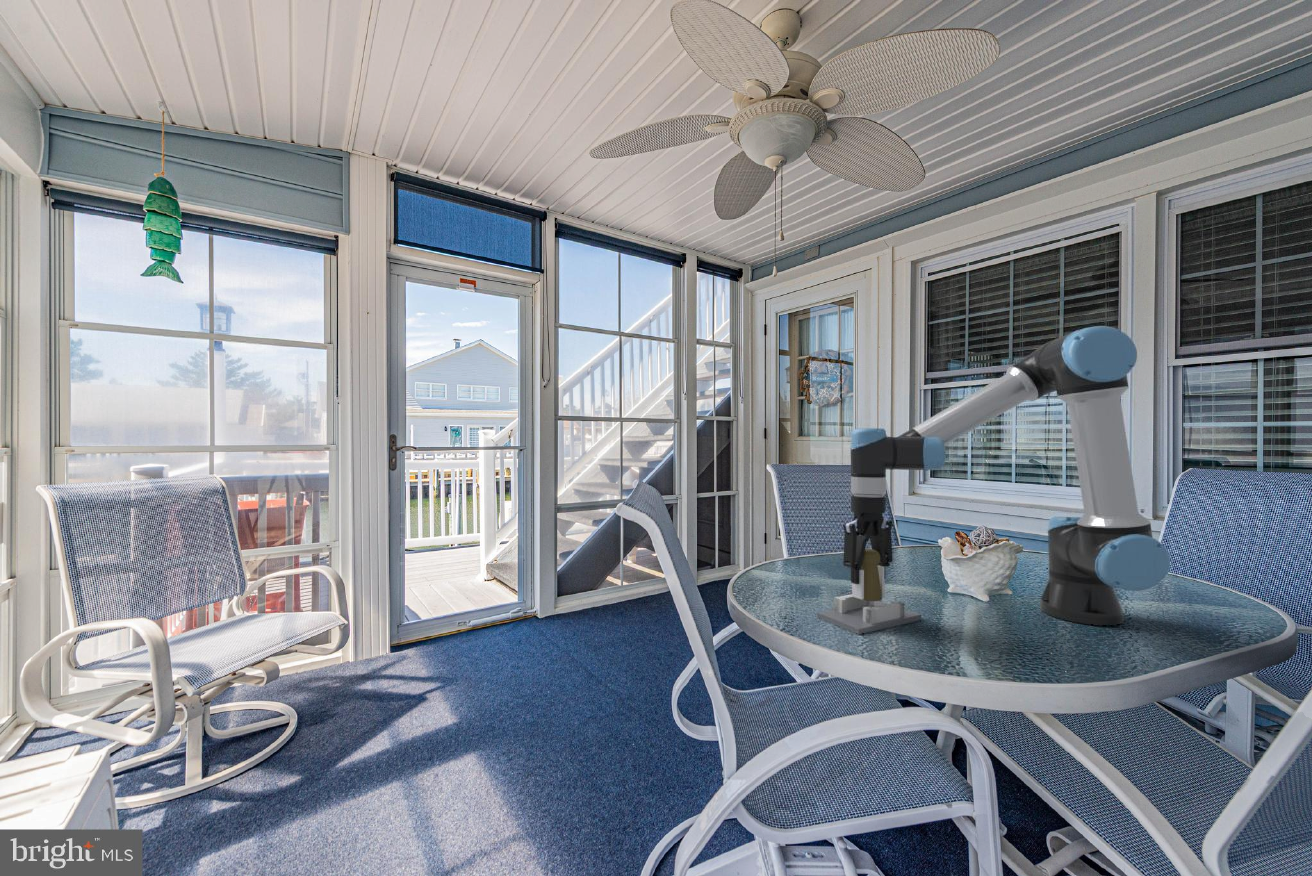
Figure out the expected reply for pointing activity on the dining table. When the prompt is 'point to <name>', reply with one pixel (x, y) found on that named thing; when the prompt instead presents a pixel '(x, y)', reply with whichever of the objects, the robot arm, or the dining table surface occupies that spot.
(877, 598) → the cork
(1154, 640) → the dining table surface
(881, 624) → the base
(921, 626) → the dining table surface
